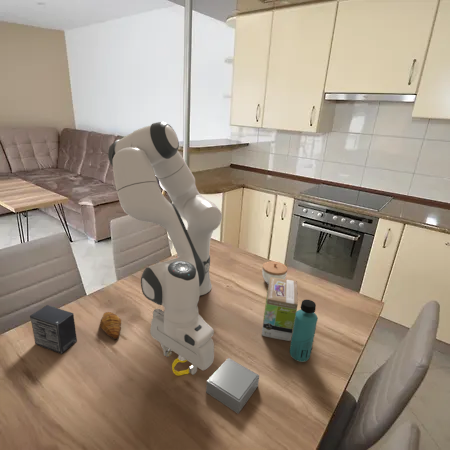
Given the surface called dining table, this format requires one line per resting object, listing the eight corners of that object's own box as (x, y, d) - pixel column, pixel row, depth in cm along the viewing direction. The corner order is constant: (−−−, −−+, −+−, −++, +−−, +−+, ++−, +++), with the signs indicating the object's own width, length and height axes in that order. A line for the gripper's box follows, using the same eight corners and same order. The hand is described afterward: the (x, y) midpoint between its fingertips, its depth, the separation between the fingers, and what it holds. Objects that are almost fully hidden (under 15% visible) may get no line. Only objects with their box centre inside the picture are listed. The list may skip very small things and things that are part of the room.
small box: (78, 340, 94) (75, 312, 91) (61, 354, 89) (57, 325, 85) (52, 331, 97) (47, 303, 94) (34, 344, 92) (28, 315, 88)
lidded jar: (256, 283, 132) (258, 264, 129) (266, 273, 141) (269, 255, 138) (279, 292, 127) (282, 272, 124) (288, 281, 136) (291, 262, 132)
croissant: (95, 319, 104) (94, 307, 102) (116, 313, 108) (115, 301, 106) (105, 344, 93) (103, 331, 92) (127, 337, 97) (126, 324, 95)
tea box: (291, 342, 100) (298, 304, 94) (261, 336, 101) (266, 298, 96) (291, 314, 113) (297, 280, 108) (264, 309, 115) (269, 275, 110)
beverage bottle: (297, 369, 89) (308, 312, 82) (283, 353, 95) (292, 299, 87) (314, 362, 92) (326, 306, 85) (299, 347, 97) (309, 294, 90)
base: (206, 392, 80) (206, 380, 78) (227, 368, 88) (228, 357, 86) (238, 413, 75) (239, 401, 73) (257, 386, 83) (259, 374, 81)
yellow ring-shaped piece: (173, 380, 83) (172, 363, 81) (172, 372, 86) (170, 355, 83) (195, 374, 85) (194, 357, 83) (192, 366, 87) (191, 350, 85)
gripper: (144, 311, 82) (145, 351, 87) (203, 346, 71) (200, 390, 76) (161, 301, 87) (161, 340, 92) (219, 332, 76) (215, 374, 81)
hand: (179, 363), depth 84 cm, fingers open, 8 cm apart
